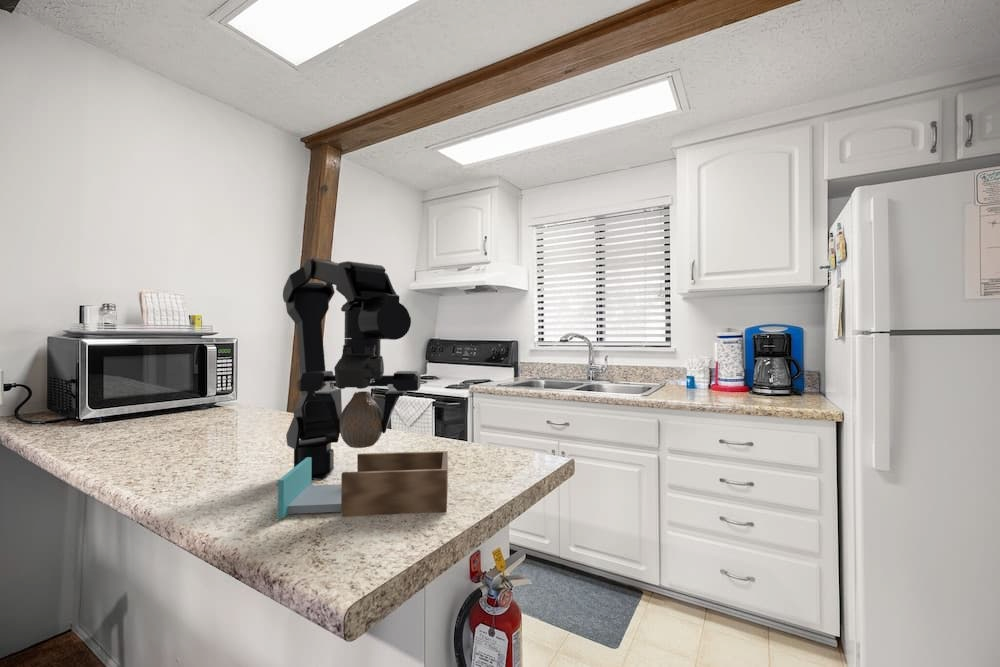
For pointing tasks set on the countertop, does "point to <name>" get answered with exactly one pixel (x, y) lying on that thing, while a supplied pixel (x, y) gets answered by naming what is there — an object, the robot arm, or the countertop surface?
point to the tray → (306, 492)
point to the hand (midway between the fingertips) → (361, 432)
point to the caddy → (396, 484)
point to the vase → (361, 421)
